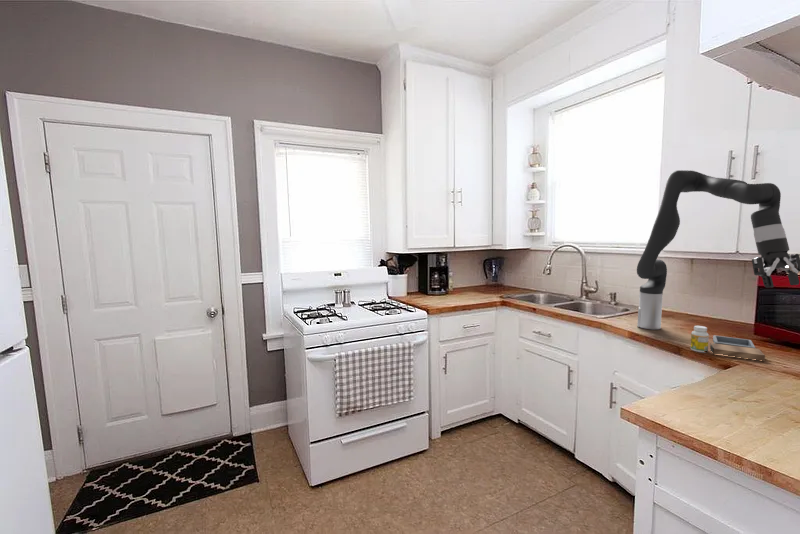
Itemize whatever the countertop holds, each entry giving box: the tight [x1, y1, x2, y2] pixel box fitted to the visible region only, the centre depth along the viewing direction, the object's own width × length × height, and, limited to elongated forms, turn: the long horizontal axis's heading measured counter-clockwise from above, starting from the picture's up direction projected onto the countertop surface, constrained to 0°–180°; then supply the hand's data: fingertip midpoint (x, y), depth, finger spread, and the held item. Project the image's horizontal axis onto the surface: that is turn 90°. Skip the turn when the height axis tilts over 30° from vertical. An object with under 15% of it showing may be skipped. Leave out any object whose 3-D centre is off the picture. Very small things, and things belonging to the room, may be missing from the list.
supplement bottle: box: [690, 325, 710, 353], centre depth 143 cm, size 5×5×10 cm
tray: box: [712, 334, 756, 348], centre depth 146 cm, size 12×12×2 cm
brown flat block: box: [709, 342, 766, 362], centre depth 138 cm, size 14×8×2 cm, turn 57°
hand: (782, 286), depth 121 cm, fingers open, 8 cm apart
